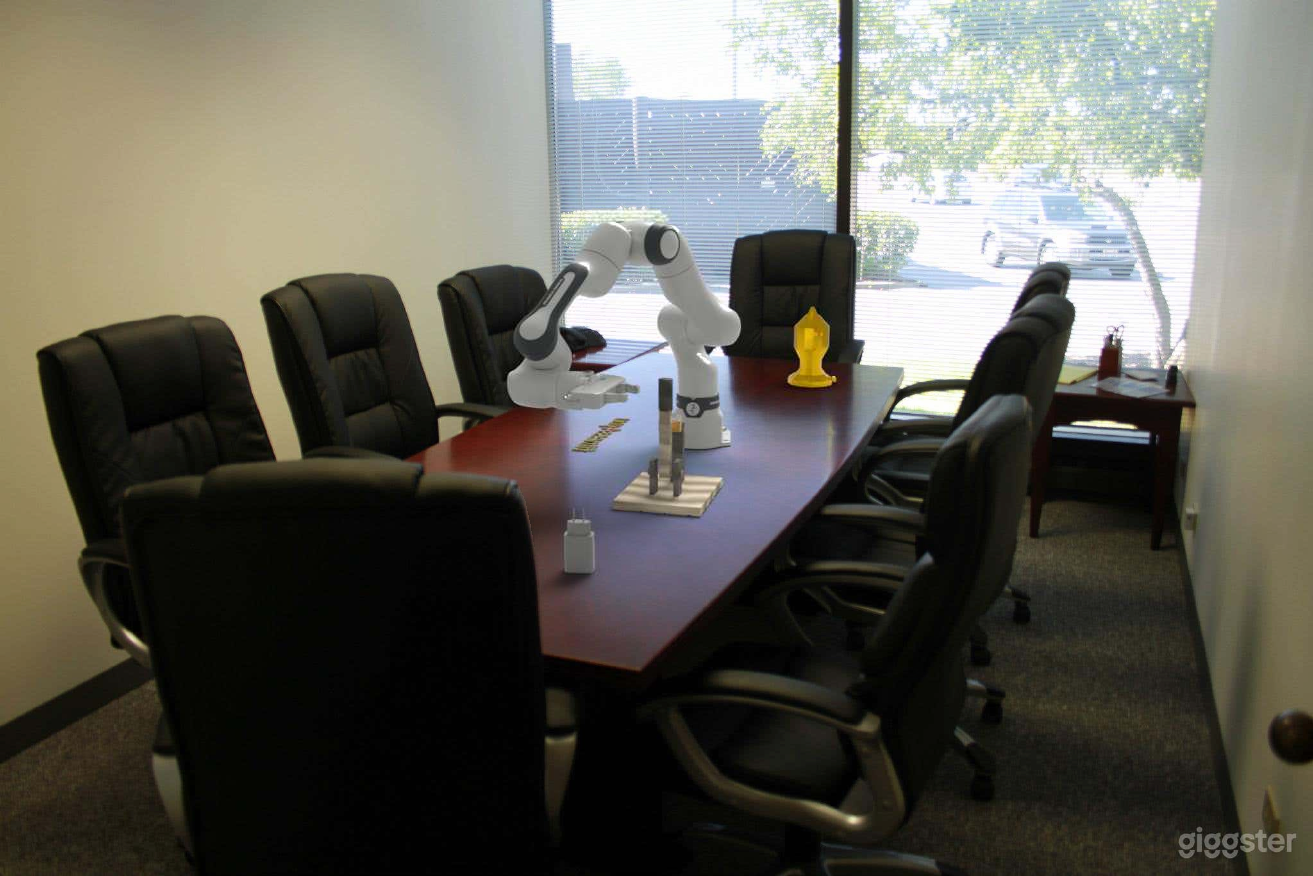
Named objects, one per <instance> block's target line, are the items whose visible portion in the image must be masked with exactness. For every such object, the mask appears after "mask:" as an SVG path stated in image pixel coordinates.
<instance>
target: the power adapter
mask: <svg viewBox="0 0 1313 876" xmlns="http://www.w3.org/2000/svg"><path fill="white" fill-rule="evenodd" d="M585 515H586V513H585V509H584V508H583V509H582V519H578V518H577V519H576V518H575V517H576V513H575V508H572V519H568V520H567V521H566V522H567V529H566V530H565V532H564V534H563V550H564V552H563V553H564V557H563V558H564V572H565V573H567V574H568V573H569V574H570V573H571V574H593V573H594V572H595V570H596V560H595V559H596V557H595V555H596V552H595V549H596V548H595V531H592V530H591V529H592V528H591V526H592V524H591V520H588V519H585V518H586V517H585Z"/></svg>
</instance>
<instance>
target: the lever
mask: <svg viewBox="0 0 1313 876" xmlns="http://www.w3.org/2000/svg"><path fill="white" fill-rule="evenodd" d="M673 394H674V379H673V378H671V377H660V378H658V395H657V397H658V398H657V399H658V401H657V403H658V405H657V406H658V473H659V478H667V479H670V477H671V476H672V413H673V411H674V405H673V404H674V395H673Z"/></svg>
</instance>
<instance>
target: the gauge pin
mask: <svg viewBox="0 0 1313 876" xmlns="http://www.w3.org/2000/svg"><path fill="white" fill-rule="evenodd" d="M681 431H682V415H676V416H675V417H674V418H673V419H672V432H681Z"/></svg>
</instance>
